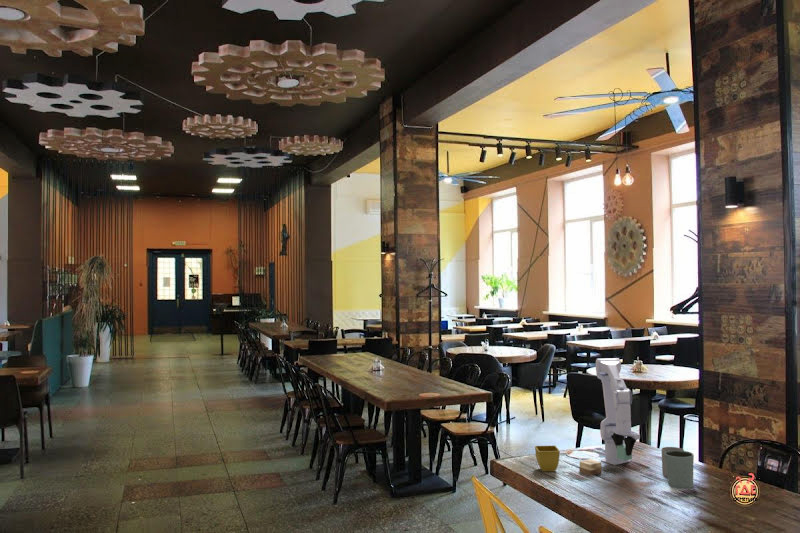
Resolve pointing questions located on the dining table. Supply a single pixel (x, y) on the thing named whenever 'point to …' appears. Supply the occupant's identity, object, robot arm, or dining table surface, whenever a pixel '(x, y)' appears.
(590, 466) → the oak slab
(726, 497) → the dining table surface
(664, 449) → the cup
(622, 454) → the teal block
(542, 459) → the flower pot
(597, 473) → the walnut slab
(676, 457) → the grey-green embossed container
